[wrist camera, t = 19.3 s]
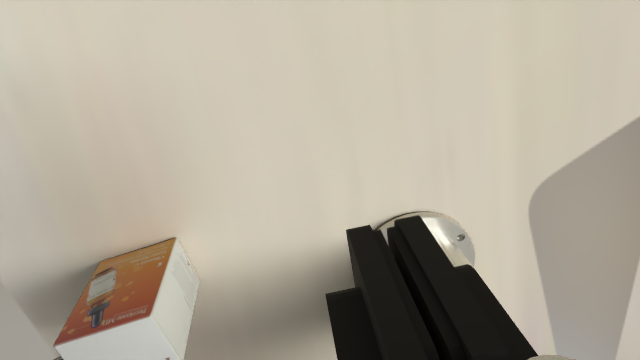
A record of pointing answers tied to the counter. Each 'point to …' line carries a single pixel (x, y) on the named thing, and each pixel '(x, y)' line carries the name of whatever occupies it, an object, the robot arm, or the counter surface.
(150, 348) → the small box
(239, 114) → the counter surface
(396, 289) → the robot arm
